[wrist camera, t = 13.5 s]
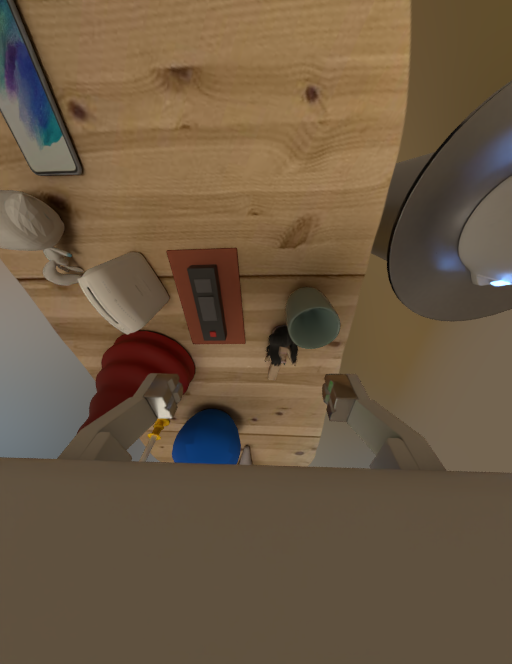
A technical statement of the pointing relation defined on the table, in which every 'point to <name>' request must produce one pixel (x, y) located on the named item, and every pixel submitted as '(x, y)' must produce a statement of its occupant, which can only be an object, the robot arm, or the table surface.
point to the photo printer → (124, 291)
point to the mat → (228, 286)
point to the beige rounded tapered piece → (34, 232)
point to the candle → (154, 437)
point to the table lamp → (136, 369)
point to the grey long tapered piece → (246, 457)
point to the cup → (311, 318)
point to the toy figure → (280, 350)
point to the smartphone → (31, 102)
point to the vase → (208, 439)
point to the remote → (208, 301)
